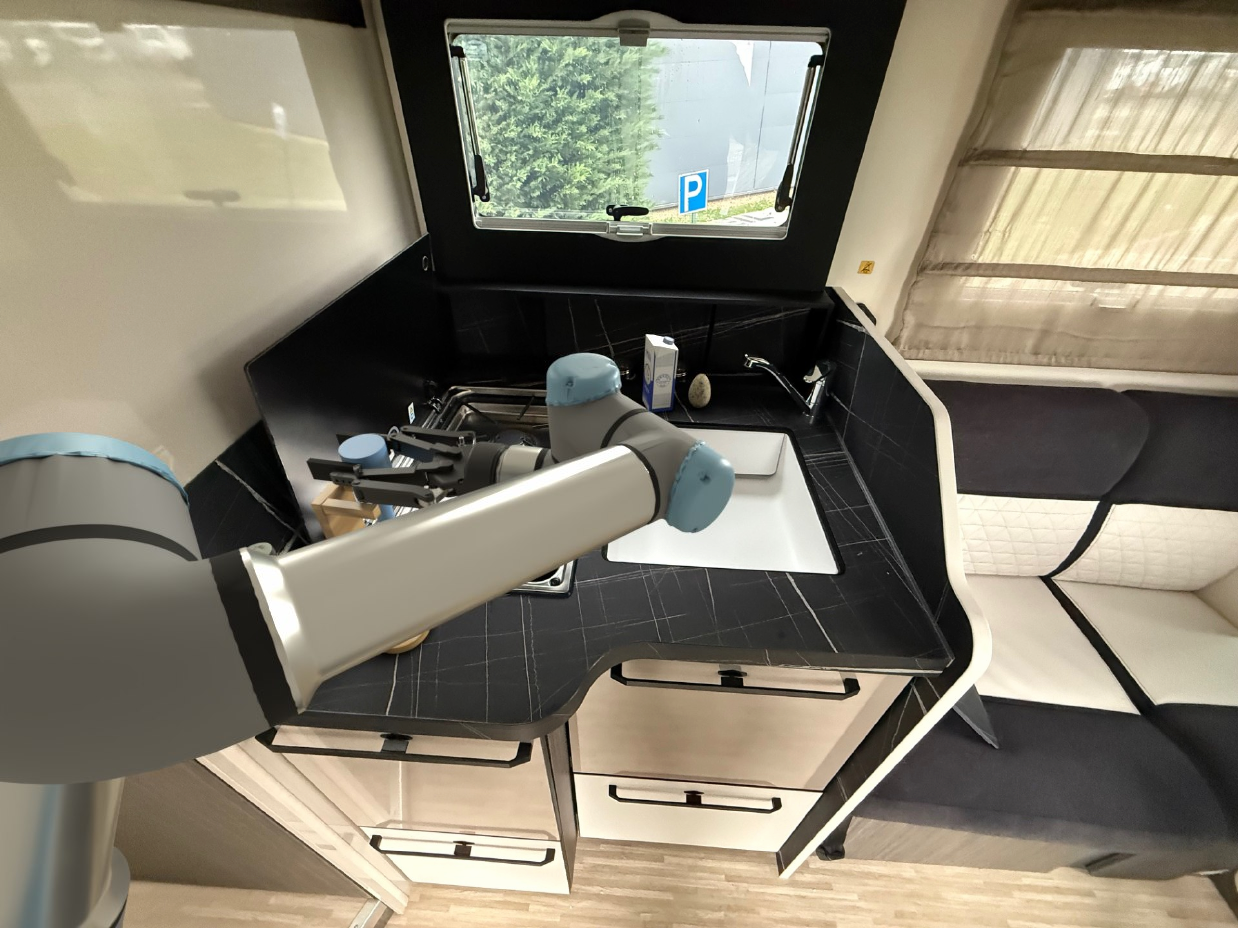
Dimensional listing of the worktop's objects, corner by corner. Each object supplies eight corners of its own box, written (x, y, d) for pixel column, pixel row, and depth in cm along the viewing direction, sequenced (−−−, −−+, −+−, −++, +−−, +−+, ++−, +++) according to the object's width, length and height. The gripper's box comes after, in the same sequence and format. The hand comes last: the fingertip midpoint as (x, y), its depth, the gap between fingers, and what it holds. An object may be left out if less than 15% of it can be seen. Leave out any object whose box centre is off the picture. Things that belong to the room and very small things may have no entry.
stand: (442, 610, 90) (401, 474, 71) (418, 658, 82) (365, 520, 64) (390, 602, 91) (336, 467, 72) (361, 649, 83) (294, 511, 65)
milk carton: (642, 400, 147) (645, 333, 135) (664, 397, 149) (670, 331, 137) (649, 412, 142) (653, 344, 130) (672, 410, 143) (679, 342, 131)
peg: (387, 568, 71) (349, 464, 60) (371, 548, 74) (331, 445, 63) (422, 549, 74) (392, 446, 63) (405, 530, 77) (373, 429, 66)
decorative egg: (698, 398, 149) (702, 367, 143) (713, 407, 145) (717, 375, 139) (682, 405, 146) (686, 373, 140) (697, 414, 142) (702, 381, 136)
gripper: (482, 552, 57) (289, 526, 60) (530, 456, 72) (373, 438, 74) (472, 501, 53) (264, 475, 55) (525, 409, 67) (358, 392, 70)
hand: (327, 454), depth 65 cm, fingers closed on peg, 5 cm apart
